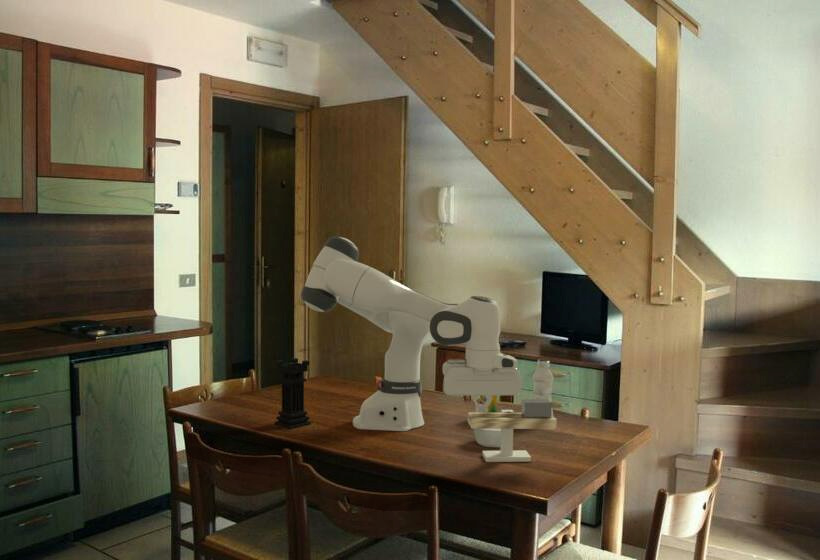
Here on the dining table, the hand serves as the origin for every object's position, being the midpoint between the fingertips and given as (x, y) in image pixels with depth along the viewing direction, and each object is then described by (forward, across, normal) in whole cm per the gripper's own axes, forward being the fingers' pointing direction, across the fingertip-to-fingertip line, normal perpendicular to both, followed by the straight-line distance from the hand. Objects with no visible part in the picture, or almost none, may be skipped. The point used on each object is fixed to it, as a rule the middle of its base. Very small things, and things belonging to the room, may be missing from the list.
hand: (481, 411), depth 195 cm
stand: (+14, +8, +6) cm, 17 cm away
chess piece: (+14, -52, +42) cm, 68 cm away
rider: (+2, +14, 0) cm, 15 cm away
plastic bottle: (+14, +27, +42) cm, 52 cm away
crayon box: (+14, +10, +45) cm, 48 cm away
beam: (+4, +8, 0) cm, 9 cm away
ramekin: (+14, +7, +20) cm, 26 cm away
